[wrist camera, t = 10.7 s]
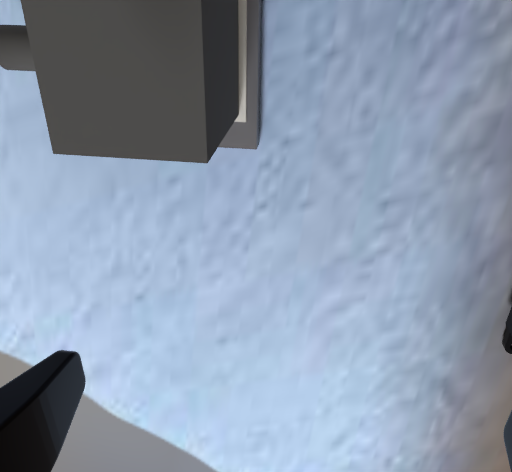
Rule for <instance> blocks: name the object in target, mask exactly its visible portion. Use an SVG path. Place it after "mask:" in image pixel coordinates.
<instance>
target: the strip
mask: <svg viewBox="0 0 512 472" xmlns="http://www.w3.org/2000/svg"><path fill="white" fill-rule="evenodd" d="M261 2H262V0H238V23H239V115H238V117H237V118H236V120H235V121H234V123H233V125H232V126H231V128H230V129H229V131H228V132H227V134H226V135H225V137H224V138H223V140H222V141H221V143H220V145H219V146H218V147H225V148H242V149H257V147H258V145H259V109H260V56H261Z"/></svg>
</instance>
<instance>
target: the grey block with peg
mask: <svg viewBox="0 0 512 472" xmlns="http://www.w3.org/2000/svg"><path fill="white" fill-rule="evenodd" d="M21 4H22V9H23V14H24V18H25V23H26V26H23V25H0V65H1V66H2V67H3V68H4V69H6V70H22V71H36V75H37V79H38V84H39V89H40V94H41V98H42V103H43V108H44V112H45V117H46V122H47V126H48V131H49V136H50V141H51V145H52V150H53V154H66V155H82V156H99V157H115V158H131V159H147V160H164V161H180V162H196V163H208V161H209V160H210V158H211V157H212V155H213V154H214V152H215V151H216V149H217V148H218V146H219V145H220V143H221V141H222V140H223V138H224V137H225V135H226V134H227V132H228V131H229V129H230V128H231V126H232V125H233V123H234V121H235V120H236V118H237V117H238V115H239V23H238V0H21Z"/></svg>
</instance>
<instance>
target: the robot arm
mask: <svg viewBox="0 0 512 472" xmlns="http://www.w3.org/2000/svg"><path fill="white" fill-rule="evenodd" d="M506 326H507V330H506V332H505V335H504V338H503V340H502V344H503V346H504V348H505V350H506V352H508V353H510V354H512V345H511V344H512V307H511V310H510V313H509V316H508V318H507V321H506ZM84 388H85V375H84V371H83V366H82V362H81V358H80V355H79V354H78V353H77V352H74V351H65V350H59V351H57V352H55V353H53V354H52V355H50V356H49V357H47V358H46V359H44V360H43V361H41V362H40V363H38V364H36V365H35V366H33V367H32V368H30V369H29V370H27V371H26V372H24V373H23V374H21V375H20V376H18V377H17V378H15V379H13V380H12V381H10V382H9V383H7V384H6V385H4V386H2V387H1V388H0V472H51V470H52V468H53V466H54V464H55V462H56V460H57V458H58V455H59V453H60V451H61V448H62V446H63V443H64V440H65V438H66V435H67V433H68V430H69V428H70V425H71V422H72V420H73V417H74V414H75V412H76V409H77V407H78V404H79V401H80V399H81V396H82V394H83V391H84ZM504 442H505V446H506V451H507V455H508V460H509V465H510V469H511V472H512V411H511V413H510V415H509V418H508V420H507V422H506V425H505V428H504Z"/></svg>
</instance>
